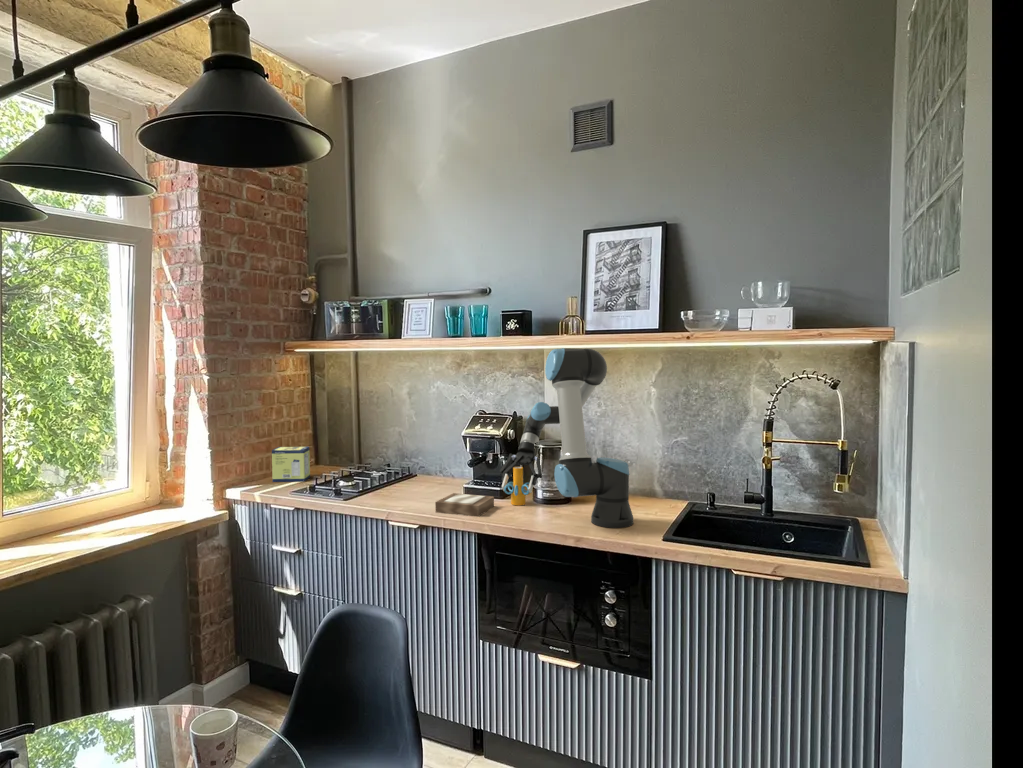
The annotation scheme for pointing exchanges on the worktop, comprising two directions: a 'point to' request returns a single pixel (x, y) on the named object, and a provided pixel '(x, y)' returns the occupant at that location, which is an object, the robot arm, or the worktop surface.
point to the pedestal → (465, 504)
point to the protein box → (290, 464)
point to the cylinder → (517, 487)
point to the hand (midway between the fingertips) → (516, 490)
